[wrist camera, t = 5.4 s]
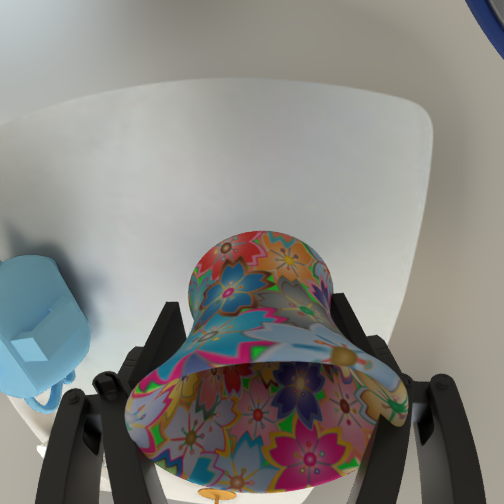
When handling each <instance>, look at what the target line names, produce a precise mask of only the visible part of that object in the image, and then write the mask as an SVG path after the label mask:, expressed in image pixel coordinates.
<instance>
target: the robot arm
mask: <svg viewBox="0 0 504 504" xmlns="http://www.w3.org/2000/svg"><path fill="white" fill-rule="evenodd" d="M485 2H486V4H487V6H488V8H489V10H490V12H491V13H492V15H493V17H494V18H495V20H496V22H497V23H498V25H499V26H500V28H501V29H502V31H503V32H504V0H485ZM330 315H331V317H332V320H333V322H334V323H335V325H336V327H337V328H338V329H339V331H340V332H341V333H342V334H343V335H344V336H345V337H346V338H347V339H348V340H349V341H350V342H351V343H352V344H354V345H355V346H356V347H358V348H359V349H360V350H362V351H364V352H365V353H367V354H369V355H371V356H373V357H374V358H376V359H378V360H380V361H381V362H383V363H384V364H386V365H387V366H388V367H390V368H391V369H392V370H393V371H394V372H395V373H396V374H397V375H398V376H399V378H400V379H401V380H402V382H403V384H404V386H405V388H406V391H407V395H408V413H407V417H406V420H405V422H404V424H403V426H400V427H398V426H395V425H393V424H392V423H391V422H389V421H388V420H387V419H386V418H385V417H384V416H383V415H382V414H381V413H380V415H379V418H378V420H377V422H376V425H375V427H374V429H373V432H372V434H371V437H370V439H369V442H368V444H367V447H366V449H365V452H364V454H363V457H362V460H361V463H360V466H359V470H358V473H357V476H356V479H355V482H354V485H353V487H352V490H351V493H350V496H349V498H348V501H347V504H396V501H397V497H398V493H399V489H400V484H401V480H402V476H403V471H404V466H405V460H406V455H407V448H408V442H409V435H410V427H411V423H413V426H414V432H415V439H416V446H417V453H418V461H419V470H420V481H421V494H422V504H486V498H485V491H484V485H483V479H482V474H481V470H480V465H479V460H478V456H477V452H476V448H475V444H474V440H473V436H472V433H471V429H470V426H469V422H468V419H467V416H466V413H465V410H464V406H463V403H462V401H461V398H460V395H459V392H458V389H457V386H456V384H455V382H454V380H453V378H451V377H450V376H448V375H446V374H437V375H435V376H433V377H432V378H431V381H430V382H418V381H413V380H412V378H411V377H410V376H408V375H406V374H404V373H402V372H401V370H400V368H399V366H398V365H397V363H396V361H395V359H394V357H393V355H392V354H391V352H390V350H389V349H388V346H387V345H386V343H385V341H384V340H383V339H382V338H381V337H379V336H378V335H373V336H366V335H365V333H364V331H363V329H362V327H361V325H360V323H359V321H358V319H357V317H356V316H355V314H354V312H353V310H352V308H351V306H350V304H349V302H348V300H347V298H346V297H345V295H344V293H335V294H332V298H331V309H330ZM186 339H187V338H186V334H185V329H184V325H183V321H182V316H181V312H180V307H179V303H178V302H166V303H165V305H164V307H163V309H162V311H161V313H160V315H159V317H158V319H157V321H156V323H155V325H154V327H153V329H152V331H151V333H150V335H149V337H148V339H147V341H146V343H145V346H144V347H136V346H135V347H134V348H133V349H132V350H131V351H130V352H129V353H128V355H127V357H126V359H125V361H124V362H123V364H122V365H123V366H121V368H120V370H119V372H118V374H116V373H115V372H111V371H106V372H102V373H100V374H98V375H97V376H96V377H95V378H94V379H93V382H92V385H93V386H94V388H95V390H96V392H97V393H98V394H94V395H85V393H84V392H83V391H82V390H81V389H77V388H74V389H70V390H68V391H67V392H66V393H65V394H64V395H63V397H62V399H61V402H60V405H59V408H58V411H57V414H56V417H55V421H54V424H53V427H52V431H51V434H50V437H49V441H48V445H47V448H46V452H45V456H44V460H43V465H42V469H41V473H40V478H39V483H38V488H37V494H36V500H35V504H99V490H100V480H101V470H102V461H103V453H104V451H105V458H106V464H107V470H108V476H109V481H110V486H111V491H112V496H113V500H114V504H168V503H167V500H166V497H165V495H164V492H163V489H162V486H161V483H160V480H159V477H158V474H157V471H156V468H155V464H154V462H152V461H151V460H150V459H149V458H148V457H146V456H145V454H144V453H143V452H142V451H141V449H140V448H139V447H138V445H137V444H136V442H135V441H133V440H132V439H131V437H130V435H129V433H128V430H127V427H126V422H125V407H126V404H127V400H128V398H129V396H130V394H131V392H132V391H133V389H134V388H135V387H136V385H137V384H138V383H139V382H140V381H141V380H142V379H143V378H144V377H146V376H147V375H148V374H149V373H151V372H152V371H154V370H155V369H157V368H158V367H159V366H161V365H162V364H163V363H165V362H166V361H167V360H169V359H170V358H171V357H172V356H173V355H174V354H175V353H176V352H177V351H178V350H179V349H180V348H181V346H182V345H183V344H184V342H185V341H186Z"/></svg>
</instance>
